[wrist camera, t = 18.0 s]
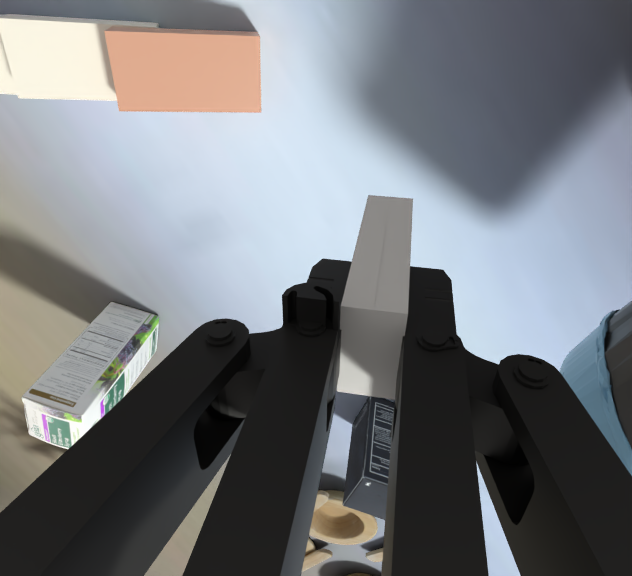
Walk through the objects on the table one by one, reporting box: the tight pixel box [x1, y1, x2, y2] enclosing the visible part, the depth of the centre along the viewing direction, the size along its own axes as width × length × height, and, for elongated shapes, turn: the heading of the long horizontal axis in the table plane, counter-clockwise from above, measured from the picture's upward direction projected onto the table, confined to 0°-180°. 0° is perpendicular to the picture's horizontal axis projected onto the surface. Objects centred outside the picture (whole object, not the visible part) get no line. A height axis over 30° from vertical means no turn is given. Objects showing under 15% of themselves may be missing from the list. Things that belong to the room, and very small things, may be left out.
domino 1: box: [0, 14, 159, 101], centre depth 34 cm, size 2×5×10 cm
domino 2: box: [104, 27, 261, 112], centre depth 33 cm, size 2×5×10 cm
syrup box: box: [21, 302, 159, 449], centre depth 46 cm, size 6×6×14 cm
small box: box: [342, 396, 395, 520], centre depth 50 cm, size 11×6×10 cm, turn 72°
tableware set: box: [302, 490, 383, 576], centre depth 70 cm, size 35×29×4 cm
